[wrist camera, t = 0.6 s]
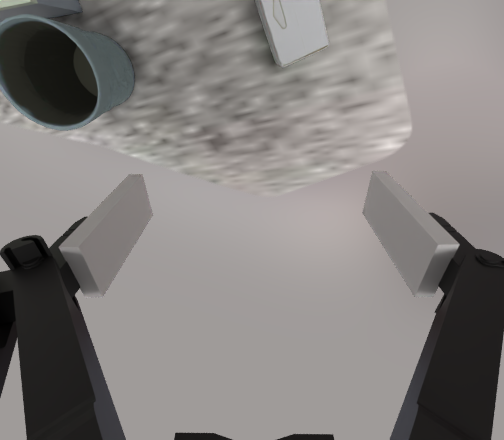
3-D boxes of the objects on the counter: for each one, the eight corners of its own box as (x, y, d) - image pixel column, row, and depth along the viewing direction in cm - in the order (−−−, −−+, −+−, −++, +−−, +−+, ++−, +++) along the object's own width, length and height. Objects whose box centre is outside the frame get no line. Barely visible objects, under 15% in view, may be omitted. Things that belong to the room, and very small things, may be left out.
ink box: (310, 48, 35) (332, 49, 25) (274, 65, 36) (281, 72, 26) (289, -37, 30) (305, -77, 20) (249, -15, 32) (245, -43, 22)
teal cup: (56, 80, 37) (-20, 92, 27) (75, 3, 33) (-6, -17, 23) (126, 123, 40) (82, 149, 30) (154, 58, 36) (113, 62, 25)
